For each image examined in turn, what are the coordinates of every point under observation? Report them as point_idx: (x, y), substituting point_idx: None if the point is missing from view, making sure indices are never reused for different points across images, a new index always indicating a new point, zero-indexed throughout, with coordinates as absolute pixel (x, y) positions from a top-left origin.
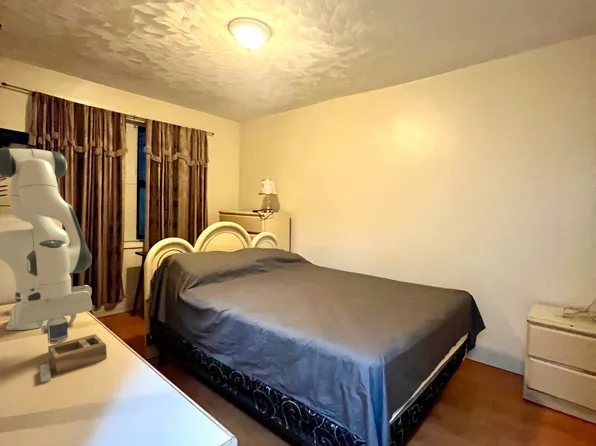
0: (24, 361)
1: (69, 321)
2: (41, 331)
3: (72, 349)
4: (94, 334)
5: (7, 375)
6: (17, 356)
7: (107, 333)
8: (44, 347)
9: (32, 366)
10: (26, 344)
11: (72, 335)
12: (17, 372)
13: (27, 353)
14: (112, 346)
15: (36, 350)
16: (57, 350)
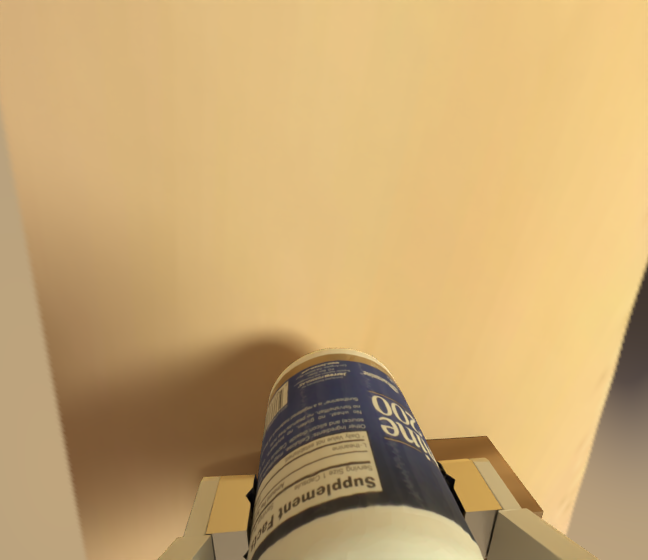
0: (147, 379)
1: (500, 524)
2: (198, 491)
3: None
4: (537, 515)
5: (82, 496)
6: (100, 262)
7: (634, 269)
8: (264, 220)
9: (187, 470)
10: (143, 7)
11: (476, 98)
12: (124, 492)
13: (159, 254)
14: (539, 481)
15: (213, 240)
16: None
